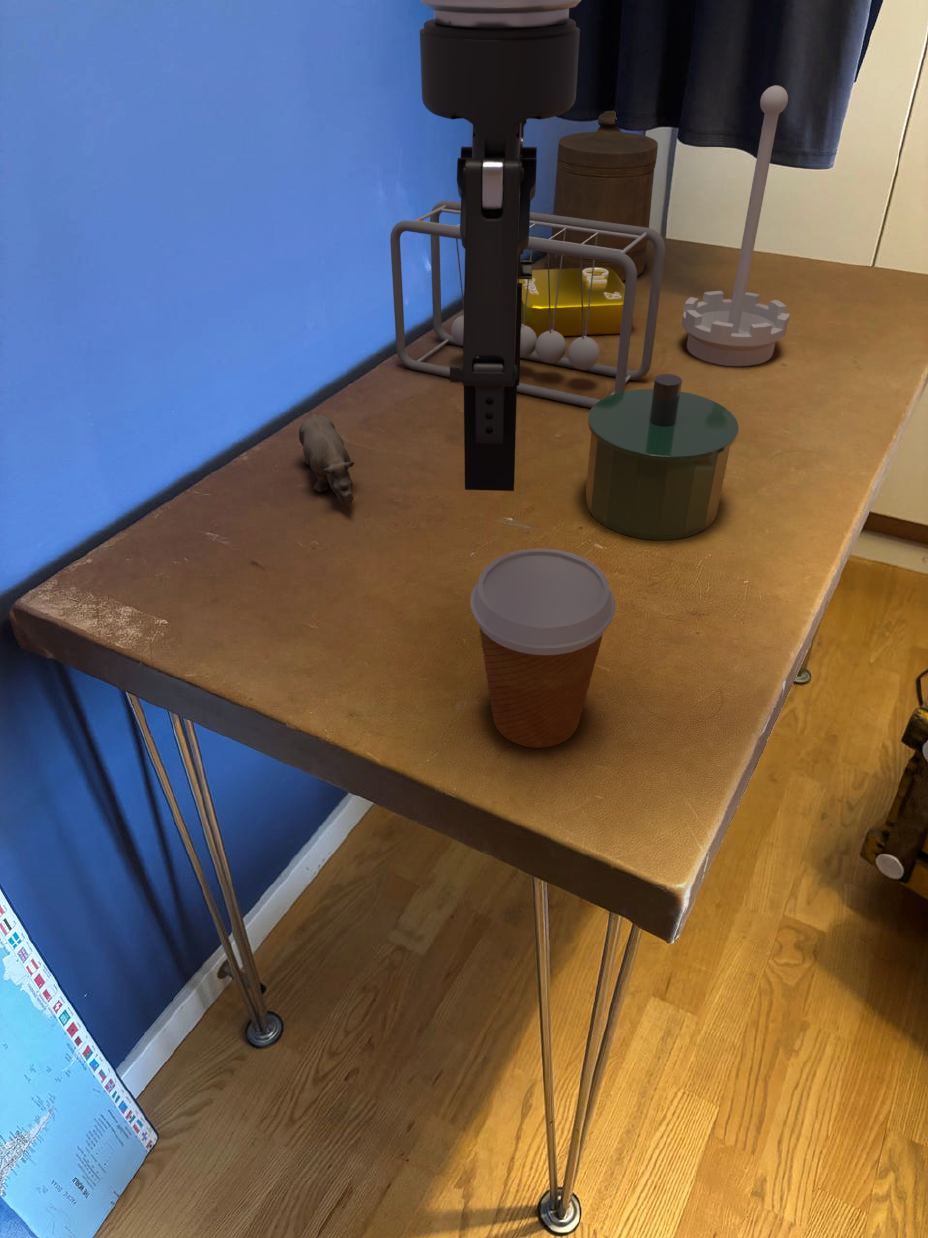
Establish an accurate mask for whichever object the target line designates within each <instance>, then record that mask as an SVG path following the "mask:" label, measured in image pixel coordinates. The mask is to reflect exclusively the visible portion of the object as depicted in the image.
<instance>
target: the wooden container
mask: <svg viewBox="0 0 928 1238" xmlns="http://www.w3.org/2000/svg"><path fill="white" fill-rule="evenodd" d="M615 111H616V110H606V111H605V110H604V112H603V113H600V115H599V116H598V119H597V123H598V126H599V127H598V128H597V129H596V131H584V132H577V133H571V134H568V135H565V136H562V137H560V138H559V140H558V144H557V153H556V155H557V158H556V172H555V173H556V174H555V183H554V197H553V208H552V215H557V216H564V217H571V218H579V219H586V220H594V221H601V222H609V223H616V224H623V225H631V226H638V227H646V228H650V221H651V209H652V197H653V188H654V176H655V168H656V165H657V159H658V150H659V149H658V148H659V144H658V143H659V142H658V141H657V140H656V139H654V138H652V137H650V136H647V135H643V134H638V133H632V132H624V131H622V130H621V128H620V127H619V126H618V127H617V126H616V123H615V119H616V120H617V117H616V112H617V111H616V112H615ZM562 230H563V229H561V228H553V227H551V237H553V236H554V235H556V234H557V233H559V232H560V231H562ZM594 234H596V233H589V232H582V231H575V230H568V229H566V234H565V242H571V243H578V244H582V243H583V242H585V241H586V240H587V239H589V238H590V237H592V236H593V235H594ZM551 237H550V238H551ZM563 238H564V230H563V231H562V232H560V233H559V234H557V235H556V236H554V237H553V238H551V239H550V240H557V241H563ZM635 240H636V239H632V238H625V237H618V236H611V235H603V234H598V237H597V245H596V246H598V247H605V248H612V249H619V250H624V249H625V248H626V247H627V246H629V245H630V244H631V243H632V242H634V241H635ZM595 242H596V235H594V236H593V237H592V238H590V239H589V240H588V241H586V242H585V243H583V244H585V245H592V246H595ZM647 246H648V239H645V238H643V239H642V240H641V241H639V242H638V243H637V244H636V245H634V246H633V247H632V248H631V249H630V250H628V251H627V252H626V253H625V254H626V255H627V256H629V257H630V258H631V259H632V261H633V262H634V264H635V267H636V270H637V277H638V276H639V277H640V276H641V274H642V273H643V272H644V270H645V264H646V257H647V256H646V255H647ZM560 263H561V254H554V253H550V257H549V268H550V269H556V268H557V269H560ZM555 267H556V268H555ZM592 267H593V259H587V258H582V268H592ZM594 267H608V268H610V269H612V270H613V271H615V272H616V274H617V275H618V277H619V278H620V279H621V281H622V282H624V281H625V282H626V272H625V269H624V268H623V266H621V265H620V264H618V263H614V262H607V261H601V260H595V263H594ZM568 268H580V257H574V256H568V255H563V258H562V266H561V269H568Z"/></svg>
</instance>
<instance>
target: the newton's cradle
mask: <svg viewBox="0 0 928 1238" xmlns="http://www.w3.org/2000/svg"><path fill="white" fill-rule="evenodd" d="M442 213H448V214H455V215H460V214H461V201H460V202H458V201H454V200H453V201H452V200H441V201H438V202H437V203H436V204H435V205H434V206H433V207H432V209H431V211H430V212H428V213H426V214H424V215H422V216H420V217H418V218H416V219H415V220H401V221H399V222H397V223H396V224H395V225H394V226H393V227H392V229H391V232H390V238H389V239H390V241H389V242H390V258H391V261H390V262H391V277H392V279H391V280H392V294H393V295H392V296H393V313H394V330H395V332H394V333H395V345H396V346H395V347H396V348H395V349H396V355H397V356H398V359H399V361H400V362H401V363H402V364H403V365H404V366H405V367H407V368H408V369H411V370H414V371H418V372H423V373H428V374H433V375H438V376H442V377H446V378H450V367H448V366H443V365H438V364H433V363H429V362H424V360H425V359H427V358H428V357H429V356H431V355H432V354H434V353H435V352H437V351H438V350H439V349H441V348H442V347H444V345H446V344H450V345H455V346H459V347H463V329H464V314H461V315H459V316H457V318H456V319H454V321H453V323H452V324H451V327H450V332H451V333H450V334H449V333H447V332H446V331H445V330H444V328H443V325H442V324H443V323H442V285H441V284H442V282H441V246H440V245H441V244H440V243H441V242H440V241H441V240H440V237H443V238H450V239H455V243H456V252H457V253H456V254H457V262H458V272H459V280H460V281H459V282H460V288H461V289H460V291H461V300H462V310H463V312H464V288H463V279H462V272H461V271H462V270H461V261H460V253H459V252H460V251H459V241H458V240H461V235H460V223H458V224H457V225H453V224H447V223H446V224H445V223H441V222H440V216H441V214H442ZM428 218H429V221H427V220H426V219H428ZM536 226H539V227H540V226H541V227H547V228H552V227H553V228H561V229H563V230H564V238H563V241H557V240H551V238H553V237H554V236H556V235H557V234H559V233H560V232H562V231H563V230H562V231H560V232H559V233H557V234H556V235H554V236H553V237H552V236H551V237H549V238H542V237H535V229H536ZM531 227H533V229H532V236H530V235H529V243H528V246H527V248H526V249H525V250H528V251H530V256H529V261H532V257H533V251H536V252H540V253H541V252H542V253H547V269H548V289H549V324H550V331H547V332H544V333H543V334H541V335H540V336H539V337H536V334H535V332H534V331H533V330H532V329H531V328H530V327H528V326H525V325H524V322H525V313H526V304H527V295H528V285H529V279H528V282H527V292H526V301H525V310H524V319H523V324H522V323H521V344H520V359H524V360H528V361H532V362H533V361H534V362H538V363H544V364H549V365H554V366H559V367H564V368H569V369H572V370H578V371H583V372H589V373H594V374H597V375H598V374H599V375H603V376H608V377H614V378H615V383H614V391H612V392H611V394H610V395H613V394H616V393H620V392H625V391H626V390H625V389H626V384H627V382H628V381H638V380H641V379H642V378H644V377H645V376H647V374H648V373H649V371H650V369H651V367H652V360H653V353H654V345H655V336H656V330H657V322H658V321H657V320H658V314H659V306H660V305H659V304H660V299H661V298H660V297H661V289H662V280H663V274H664V266H665V265H664V264H665V257H666V245H665V241H664V238H663V237H662V235H661V233H659V232H658V231H657V230H655V229H654V228H650V227H649V228H646V227H638V226H631V225H623V224H616V223H609V222H601V221H594V220H586V219H579V218H571V217H564V216H557V215H553V214H549V213H540V212H535V211H534V212H532V211H530V223H529V229H530V228H531ZM566 229H568V230H575V231H582V232H589V233H596V234H594V235H596V242H595V246H592V245H585V244H583V243H585V242H586V241H588V240H589V239H590V238H592V237H593V236H594V235H593V236H592V237H590V238H589V239H587V240H586V241H585V242H583V243H582V244H578V243H571V242H565V234H566ZM404 232H409V233H415V234H416V233H417V234H424V235H430V263H431V264H430V267H431V298H432V299H431V301H432V302H431V303H432V304H431V305H432V325H433V330H434V333H435V334H436V336H437V338H438V339H439V340H441V341H442V342H441V343H439V344H438V345H437V346H435V347H434V348H432V349H431V350H429V351H428V352H427V353H426V354H424V355H423V356H421V357H420V358H419V359H417V360H415V359H413V358H411V357H410V356H409V354H408V352H407V350H406V334H405V313H404V294H403V293H404V292H403V274H402V254H401V236H402V234H403V233H404ZM598 234H603V235H611V236H618V237H625V238H632V239H636V240H635V241H634V242H632V243H631V244H630V245H629V246H627V247H626V248H625V249H624V250H619V249H612V248H605V247H598V246H596V245H597V237H598ZM643 238H645V239H648V240H649V241H650V242H651V243H652V244H653V247H654V259H653V264H652V265H653V267H652V273H651V282H650V283H651V285H650V290H649V299H648V308H647V316H646V324H645V334H644V340H643V348H642V349H643V350H642V358H641V364H640V367H639V368H638V369H636V370H631V369H628V363H629V354H630V346H631V345H630V344H631V336H632V335H631V334H632V326H633V318H634V317H633V316H634V308H635V297H636V289H637V280H638V276H637V270H636V267H635V264H634V262H633V261H632V259H631V258H630V257H629V256H627V255H626V254H625V253H626V252H627V251H628V250H630V249H631V248H632V247H633V246H634V245H636V244H637V243H638V242H639V241H641V240H642V239H643ZM551 253H554V254H561V263H560V271H559V279H558V287H557V295H556V303H555V311H554V319H553V327H552V330H551V312H550V275H549V269H550V254H551ZM563 255H568V256H574V257H580V271H581V305H582V336H580V337H577V338H574V340H572V341H571V343H570V345H569V346H568V349H567V342H566V339H565V336H562V335H561V334H560V333H558V332H556V331H554V322H555V314H556V306H557V298H558V290H559V282H560V274H561V266H562V258H563ZM582 258H587V259H593V268H592V277H591V286H590V295H589V303H588V312H587V321H586V330H585V335H584V326H583V291H582ZM595 260H601V261H607V262H614V263H618V264H620V265H621V266H623V268H624V269H625V272H626V280H625V284H624V285H625V293H624V303H623V313H622V322H621V332H620V334H619V343H618V353H617V363H616V364H617V365H616V367H615V366H611V365H605V364H601V363H597V362H598V360H599V359H600V347H599V345H598V343H597V342H596V341H595V339H593V338H591V337H589V336H587V335H586V333H587V324H588V315H589V307H590V298H591V289H592V280H593V272H594V263H595ZM518 283H519V279H518ZM566 352H567V357H565V355H566ZM517 393H520V394H525V395H529V396H534V397H538V398H543V399H548V400H551V401H558V402H562V403H566V404H571V405H576V406H580V407H584V408H585V407H586V408H589V409H592V407H593V406H594V405H595V404H596V403H597V402H599V401H600V400H601V399H599V398H595V397H590V396H584V395H581V394H576V393H570V392H566V391H561V390H556V389H552V388H547V387H543V386H539V385H538V386H537V385H533V384H529V383H523V382H519V386H517Z"/></svg>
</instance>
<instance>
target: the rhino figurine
mask: <svg viewBox="0 0 928 1238" xmlns="http://www.w3.org/2000/svg"><path fill="white" fill-rule="evenodd" d="M298 440H299V442H300V444H301V446H302V453H303V455H304V457H303V459H302V463H304V464H306V466H309V467H310V469H311V471H312V472H313V474H314V475H315V476H316V478H317V481H316V482H315V484H314V486H313V489H314V490H315V491H317V492H318V493H321V492H326V491H327V490H328V489H329V487H328V484H329V486H330V488H331V490H332V492H334V493H335V495H336V497H337V499H338V501H339V503H340V504H342V505H343V506H346V507H348V506H350V505H351V504H352V503H353V502H354V495H353V481H352V479H351V473H350V472H349V468H351V467H353V466H354V465H355V462H354V460H351V457H350V455H349V454H350V453H349V452H348V450H347V449H346V447H345V442H344V440H343V439H342V437H341V435H340V434H339V433H338V431H337V430H336V427H335V424H334V422H333V420H331V419H330V418H328V417H327V416H323V415H320V414H315V413H312V414H311V415H310V416H309V417H308V418H306V419H305V420H304V421H303V422H302V423H301V424H300V427H299V429H298ZM327 482H328V484H327Z"/></svg>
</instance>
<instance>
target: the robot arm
mask: <svg viewBox="0 0 928 1238" xmlns="http://www.w3.org/2000/svg"><path fill="white" fill-rule="evenodd" d="M419 1H420V2H421V4H422V5H423V6H424V7H425V8H427V9H429V10H432V11H433V18H432V19H429V20H426V21H425V22H424V23H423V28H421V29H419V50H420V51H419V52H420V83H421V85H420V86H421V99H422V104H423V105H424V107H425V109H426V110H428V111H429V112H430V113H432V114H433V115H435V116H438V117H441V118H445V119H449V120H459V119H460V120H461V119H463V120H466V121H467V122H469V123H470V124H472V144H471V145H472V146H461V147H460V157H458V158H457V162H456V163H457V164H456V167H457V168H456V184H457V192H458V196H459V198H460V203H461V214H459V215H460V217H459V220H460V221H459V224H460V225H459V226H460V235H461V239H460V241H461V246H462V247H463V249H464V283H463V286H464V288H463V299H464V311H463V315H464V329H463V346H462V365H460V366H459V365H450V366H449V368H450V377H449V382H450V383H462V386H463V439H464V442H463V446H464V447H463V448H464V449H463V450H464V455H463V457H464V490H465V491H493V492H494V491H497V492H515V474H516V473H515V472H516V471H515V469H516V466H515V465H516V438H517V436H516V435H517V434H516V433H517V403H518V402H517V401H518V400H517V399H518V392H517V386H519V383H520V378H521V377H520V374H521V373H520V372H521V358H520V344H521V310H522V283H517V281H518V279H532V270H533V260H531V261H530V260H525V259H523V260H522V259H521V258H522V255H523V254H524V251H526V250H527V249H526V248H527V246H528V243H529V236H530V228H529V227H530V224H529V223H530V212H531V203H532V200H533V199H534V197H535V196H536V189H537V162H538V161H537V157H538V156H537V155H538V153H537V152H538V146H524V138H525V137H524V135H525V134H524V133H525V132H524V131H525V126H526V125H527V120H528V119H529V120H532V119H534V120H546V119H550V118H554V117H558V116H561V115H563V114H565V113H566V112H568V111H569V110H571V108H572V107H573V106H574V105H575V102H576V99H577V87H578V85H577V84H578V70H579V69H578V68H579V53H580V35H581V34H580V33H581V28H579V27H578V26H577V22H576V20H575V19H572V18H570V9H572V8H576V7H577V5H579V4H580V2H581V1H582V0H419Z"/></svg>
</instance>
